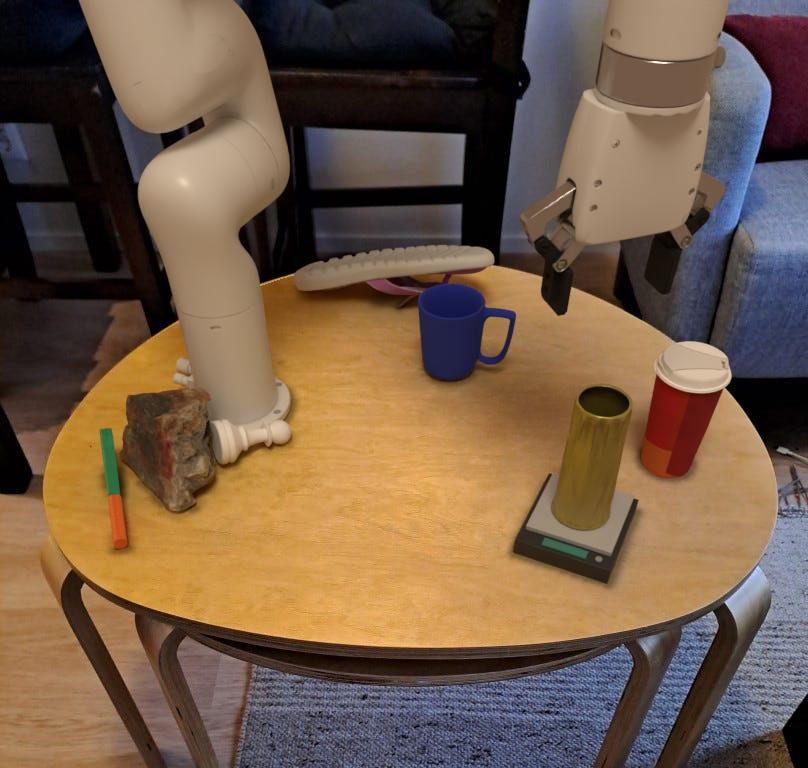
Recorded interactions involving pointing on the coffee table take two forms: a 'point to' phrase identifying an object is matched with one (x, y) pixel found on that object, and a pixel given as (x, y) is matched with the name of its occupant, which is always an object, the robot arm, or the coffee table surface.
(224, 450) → the chess pawn
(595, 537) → the scale
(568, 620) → the coffee table surface
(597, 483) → the vase
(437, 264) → the sandal
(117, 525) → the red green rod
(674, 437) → the paper cup
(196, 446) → the rock
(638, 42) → the robot arm
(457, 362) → the mug
